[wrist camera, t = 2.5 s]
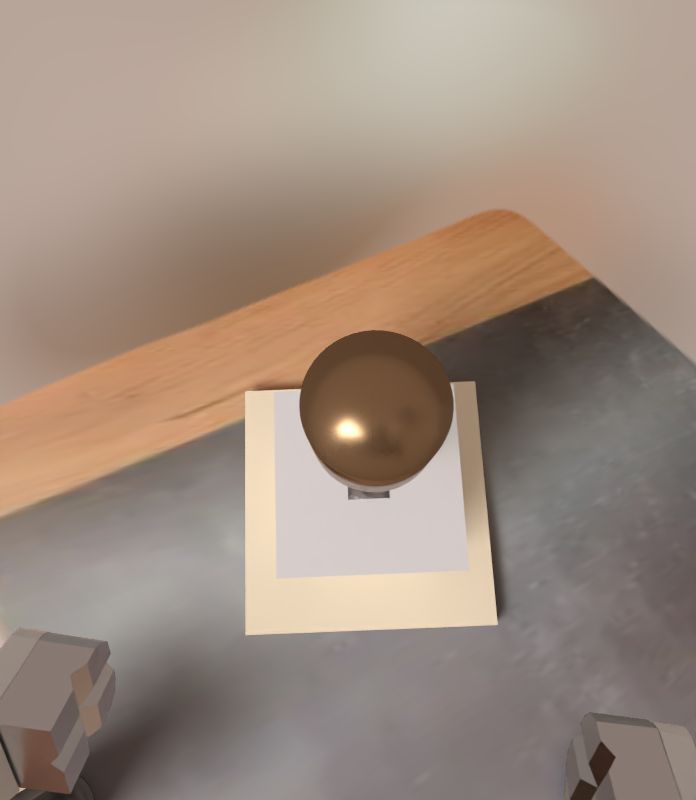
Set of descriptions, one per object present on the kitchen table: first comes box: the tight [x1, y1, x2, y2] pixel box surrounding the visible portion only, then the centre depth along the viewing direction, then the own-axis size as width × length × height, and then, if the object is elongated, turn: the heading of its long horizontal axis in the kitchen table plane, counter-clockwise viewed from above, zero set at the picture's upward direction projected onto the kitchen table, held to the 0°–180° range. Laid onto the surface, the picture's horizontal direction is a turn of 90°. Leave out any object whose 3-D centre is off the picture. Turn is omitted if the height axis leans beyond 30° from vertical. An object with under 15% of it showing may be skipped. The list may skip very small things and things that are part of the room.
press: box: [245, 381, 498, 635], centre depth 38 cm, size 18×18×18 cm
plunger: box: [299, 330, 454, 500], centre depth 23 cm, size 7×7×18 cm
